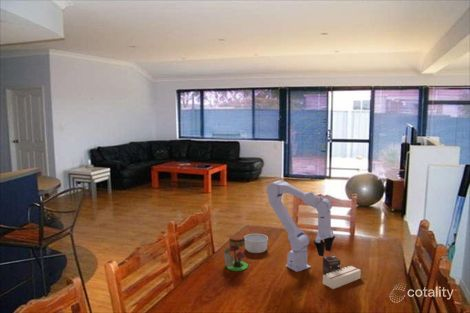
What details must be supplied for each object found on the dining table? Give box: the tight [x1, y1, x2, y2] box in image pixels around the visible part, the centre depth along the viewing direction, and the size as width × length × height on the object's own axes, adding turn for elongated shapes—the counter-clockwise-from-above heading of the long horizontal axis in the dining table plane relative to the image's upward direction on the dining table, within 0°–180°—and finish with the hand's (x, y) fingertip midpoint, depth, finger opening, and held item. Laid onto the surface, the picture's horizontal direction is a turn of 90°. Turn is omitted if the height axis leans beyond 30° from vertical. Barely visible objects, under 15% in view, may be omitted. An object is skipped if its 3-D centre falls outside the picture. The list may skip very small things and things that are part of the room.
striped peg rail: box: [322, 265, 362, 290], centre depth 170 cm, size 18×6×4 cm, turn 124°
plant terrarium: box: [224, 234, 249, 272], centre depth 186 cm, size 12×13×15 cm
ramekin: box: [244, 233, 269, 254], centre depth 208 cm, size 13×13×7 cm
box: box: [322, 255, 341, 275], centre depth 178 cm, size 6×6×7 cm
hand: (324, 253), depth 178 cm, fingers open, 7 cm apart
